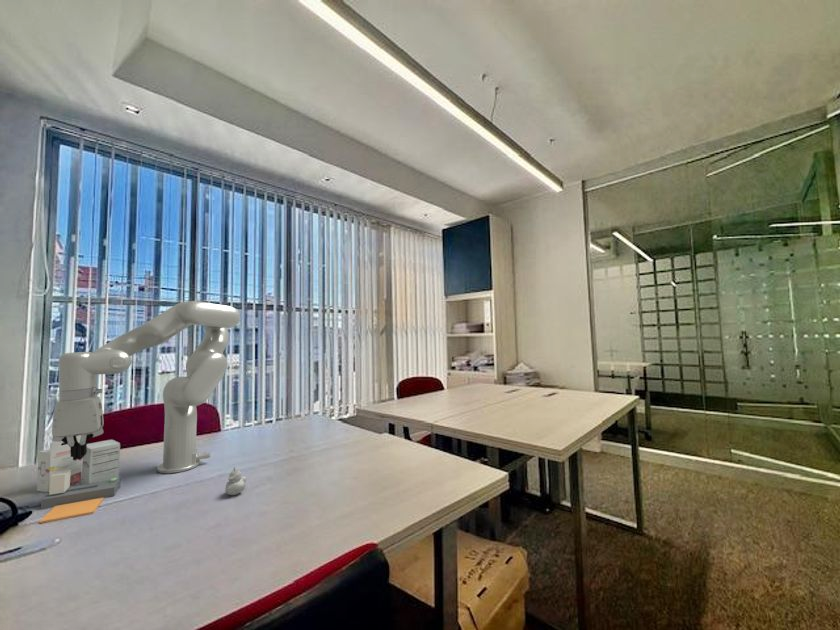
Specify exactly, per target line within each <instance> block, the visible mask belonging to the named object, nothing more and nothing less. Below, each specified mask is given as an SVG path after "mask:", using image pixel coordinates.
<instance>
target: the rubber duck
mask: <svg viewBox="0 0 840 630" xmlns="http://www.w3.org/2000/svg"><path fill="white" fill-rule="evenodd" d="M227 478H228V481H227V483H226V484H225V488H224V489H225V490H224V491H225V494H227V495H229V496H236V495H238V494H240V493H242V492H243V491H244V490H245V488H246V482H247V477H246V476H244V475H243V476H242V472H241V471H240V470H239V469H236V467H235V466H233V469H232V470H231V472H230V473H229V475H228V477H227Z"/></svg>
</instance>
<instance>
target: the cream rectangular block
mask: <svg viewBox="0 0 840 630" xmlns="http://www.w3.org/2000/svg"><path fill="white" fill-rule="evenodd" d="M70 473H71V469H70V470H63V471H56V472H55V473H54V474H52V475H51V476H50V488H49V492H48V493H49V495H52V494H58V493H64V492H65V491H66V490H67V489H68V488H69V487H71V484H70Z"/></svg>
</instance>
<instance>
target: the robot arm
mask: <svg viewBox="0 0 840 630" xmlns="http://www.w3.org/2000/svg"><path fill="white" fill-rule="evenodd" d="M240 319H241V315H240V312H239V311H238V309H237V308H235V306H234V307H233V306H232V305H231V306H230V305H226V304H225V305H224V304H220V303H219V304H218V303H213V302H206V301H199V300H191V301H189V300H188V301H181V302H179V303H177V304H174V305H173V306H172V307H169V308H168V309H166V310H165V311H164V312H161V313H160V314H158V315H156V316H155V317H152V319H150V320H148V321H147V322H145V323H144V324H141V325H138V326H136V327H135V328H132V329H131V330H130V331H126V332H125V333H124V334H121V335H119V336H117V337H116V338H114V339H112V340H110V341H108V342H107V343H105V344H104V345H102V346H100V347H99V348H97V349H95V350H94V351H93V352H90V351H78V352H67V353H63V354H61V355H60V356H59V357H58V378H59V379H58V380H59V381H58V388H59V389H58V390H59V391H58V395H59V396H58V397H59V400H58V401H56V403H55V405H54V410H53V415H52V416H53V417H52V425H51V434H52V438H51V442H54V441H57V442H64V443H63V444H68V446H69V447H71V457H73V460H77V459H78V460H79V459H82V460H83V457H84V455H86V453H87V444H88V442H90V441H91V439H92V438H95V437H99V436H101V435H103V434H104V428H103V427H104V423H105V422H104V412H103V404H102V400H101V397H100V396H97V395H99V394H102V393H103V388H98V387H97V385H96V378H97V377H96V375H116V374H120V373H123V372H125V371H127V370H128V369H129V368H130V367H131V365H132V362H133V361H132V356H133V355H136V354H137V353H140V352H141V351H144V350H148V349H151V348H154V347H157V346H159V345H162V344H164V343H166V342H167V341H169V340H170V339H172V338H173V337H175V336H176V335H177V334H179V333H180V332H182V331H184V330H185V329H186V328H188V327H189V326H194V325H195V326H203V327H204V331H205V332H204V335H203V338H202V340H201V341H200V343H199V344H198V346H197V347H196V348H195V349H194V351H193V352H192V354H191V355H190V356H189V358H188V359H187V361H186V363H185V369H186V371H187V373H188V374H189V375H191V376H178V377H174V378H172V379H170V380H169V381H168V382H167V383H166V384H165V385H164V388H163V391H162V399H163V405H164V425H163V426H164V427H163V428H164V429H163V431H164V432H163V451H162V452H163V456H162V457H163V458H162V463H160V464H159V465H158V466H157V467H156V471H157V473H160V474H175V473H181V472H185V471H189V470H191V469H194V468H196V467H198V466H199V465H201V460H202V459H210V458H211V452H209V451H208V452H207V451H203V452H202V451H201V452H199V451H198V448H196V447H197V425H198V423H197V422H198V411H197V407H198V406H200V405H202V404H204V403H205V402H206V401H208V400H209V398H210V397H211V395H212V394H213V392H214V391H215V390H216V388H217V387H218V385H219V383H220V382H221V380H222V378H223V377H224V376H225V374H226V372H227V369H228V359H227V357H226V356H225V354H224V352H225V350H226V348H227V345H228V343H229V332H228V329H231V328H234V327H236V326H237V325H239V322H240V321H241V320H240ZM78 435H81V439H80V443H78V441H77V436H78Z"/></svg>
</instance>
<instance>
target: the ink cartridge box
mask: <svg viewBox="0 0 840 630" xmlns="http://www.w3.org/2000/svg"><path fill="white" fill-rule="evenodd" d="M76 436H77V441H78V443H80V439H81V435H76ZM62 444H63V445H62ZM49 447H50V448H49V449H45V450H40V451H38V456H37V458H38V459H37V460H38V461H37V478H36V479H37V482H36V483H37V484H36V485H37V486H36V487H37V488H36V492H42V493H43V492H44V493H49V488H50V476H51V475H52V474H54V473H55V472H56V471H63V470H70V469H71V473H70V485H74V484H77V483H79V482H80V481H81V480H82V463H83V458H82V459H79V460H78V459H77V460H73V457H71V447H69V446H68V444H66V443H64V442H57V441H51V442H50V445H49Z"/></svg>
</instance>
